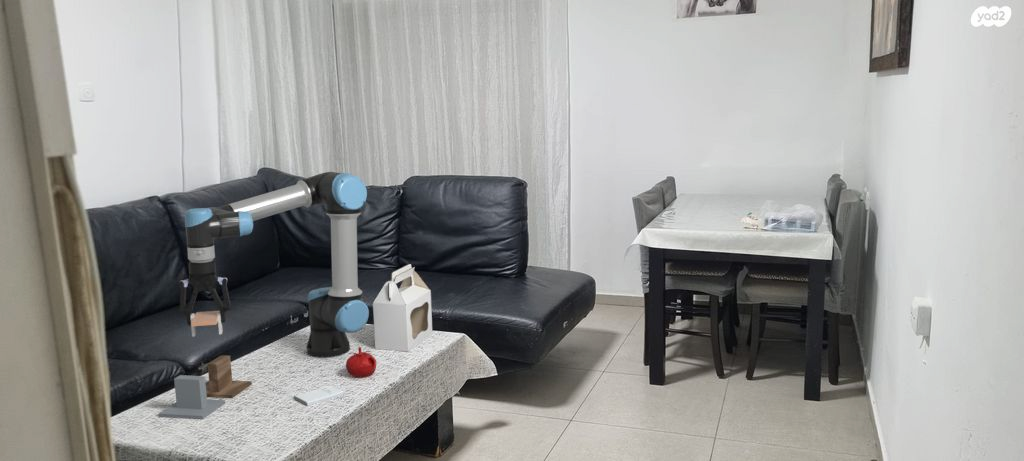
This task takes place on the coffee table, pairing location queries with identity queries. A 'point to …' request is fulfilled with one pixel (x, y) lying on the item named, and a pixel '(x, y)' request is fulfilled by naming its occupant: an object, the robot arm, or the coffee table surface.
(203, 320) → the terracotta tile
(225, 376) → the walnut stand
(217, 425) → the coffee table surface
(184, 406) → the slate stand
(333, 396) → the external hard drive
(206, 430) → the coffee table surface
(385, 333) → the gable box
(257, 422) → the coffee table surface
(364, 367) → the pomegranate
